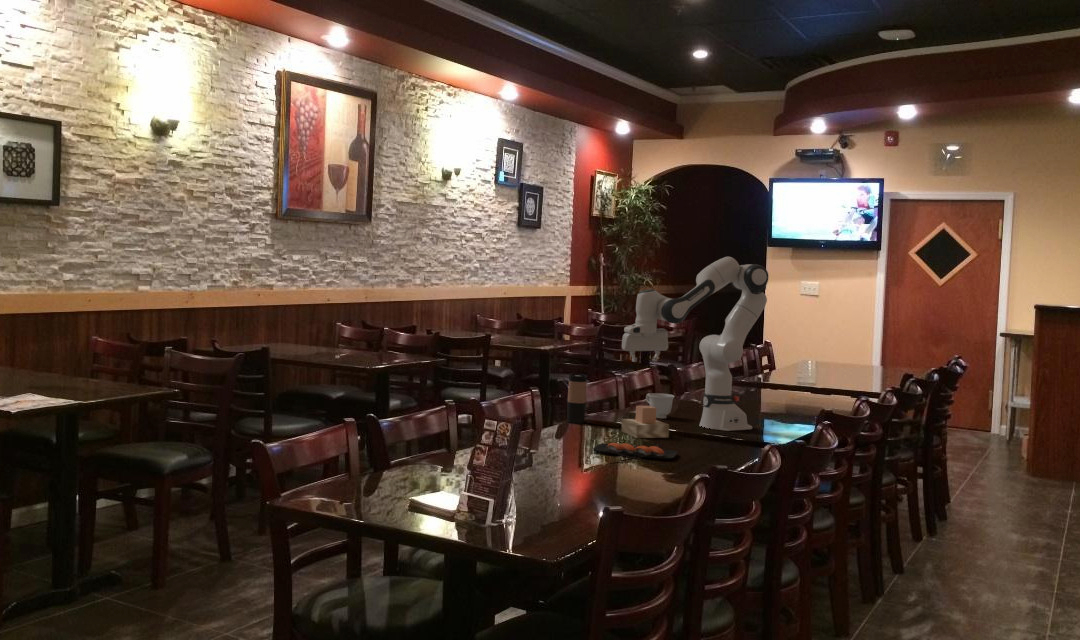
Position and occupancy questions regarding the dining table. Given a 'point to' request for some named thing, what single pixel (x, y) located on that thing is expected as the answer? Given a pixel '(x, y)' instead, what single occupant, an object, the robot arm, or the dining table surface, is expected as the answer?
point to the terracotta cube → (645, 414)
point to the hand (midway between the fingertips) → (644, 361)
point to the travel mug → (576, 398)
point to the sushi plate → (635, 451)
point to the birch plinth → (645, 429)
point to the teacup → (660, 403)
